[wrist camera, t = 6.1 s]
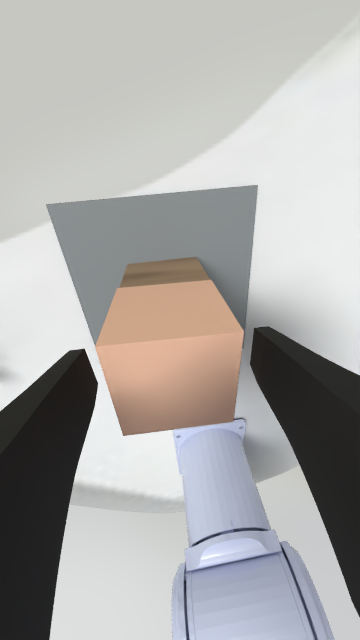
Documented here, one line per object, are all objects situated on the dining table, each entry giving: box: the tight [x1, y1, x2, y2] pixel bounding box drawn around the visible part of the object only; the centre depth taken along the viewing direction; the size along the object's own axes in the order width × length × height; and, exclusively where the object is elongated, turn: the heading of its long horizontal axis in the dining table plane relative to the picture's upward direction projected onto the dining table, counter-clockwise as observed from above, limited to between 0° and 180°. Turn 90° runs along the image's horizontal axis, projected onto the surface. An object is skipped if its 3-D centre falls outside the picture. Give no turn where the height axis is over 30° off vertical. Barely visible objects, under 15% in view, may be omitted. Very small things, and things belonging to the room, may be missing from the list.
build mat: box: [46, 185, 258, 348], centre depth 16 cm, size 12×12×1 cm
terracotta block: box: [95, 280, 244, 436], centre depth 10 cm, size 4×4×4 cm
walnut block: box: [119, 257, 210, 288], centre depth 14 cm, size 4×4×4 cm
